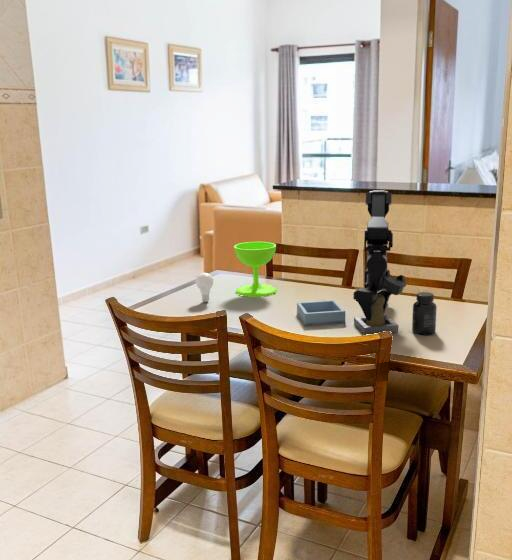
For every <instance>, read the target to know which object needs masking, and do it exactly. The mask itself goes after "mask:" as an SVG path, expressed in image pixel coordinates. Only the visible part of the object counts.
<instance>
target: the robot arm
mask: <svg viewBox="0 0 512 560" xmlns="http://www.w3.org/2000/svg"><path fill="white" fill-rule="evenodd" d="M365 206H367V213H368V214H369V216H370V217H371V219H370V220H368V221H367V224H366V225H367V227H366V229H364V243H363V251H367V258H366V259H367V260H366V270H364V285H363V286H364V287H360V288H358V289H357V290H354V292H353V295H352V296H353V300H355V302H356V303H358V305H359V307H360V308H361V310H362V312H363V315H364V317H366V319H367V320H368V321H370V320H371V317H372V310H373V304H374V303H376V302H377V301H378V300H376V299H377V297H378V294H381V295H383V296H384V298H385V303H384V305H383V310H384V313H385V312H386V309H387V306H389V300H390V297H391V296H392V295H394V296H398V295H399V294H402V292H403V290H404V288H405V287H406V286H407V282H406V276H405V275H402V274H399V275H398V276H397V277H396V276H394V275H393V276H392V275H391V271H390V269H388V252H390V251H392V250H391V248H393V247H394V245H393V244H394V243H393V242H394V241H393V240H394V239H393V238H394V236H393V232H392V229H389V222H388V221H387V220H386V219H385V218H386V216H387V215H388V213H389V211H390V206H392V192H389V191H388V190H384V189H382V190H381V189H380V190H379V189H377V190H375V189H374V190H371V191H369V192H365Z"/></svg>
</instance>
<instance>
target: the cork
mask: <svg viewBox="0 0 512 560" xmlns="http://www.w3.org/2000/svg"><path fill="white" fill-rule="evenodd" d="M376 300H378V301H377V302H376V303H374V304H373V310H372V317H371V320H370V321H368V320H367V324H366V325H367V326H374V325H385V319H384V315H385V312H384V310H383V305H384V303H385V298H384V296H383V295H381V294H378V297H377V299H376Z"/></svg>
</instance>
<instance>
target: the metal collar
mask: <svg viewBox="0 0 512 560" xmlns="http://www.w3.org/2000/svg"><path fill="white" fill-rule="evenodd" d="M384 319H385V325H374V326H367V325H366V324H367V319H366V317H365V316H355V317H353V325H354V326H355V328H356V329H357V330H358V331H359V332H360V333H361V334H362V335H363V336H364V335H366V334H374V333H379V332H383V331H391V332H392V334H391V335H393V334H399V324H398V323H396V321H394V320H393V319H392V318H391V317H390V316H388V315H387V314H384Z"/></svg>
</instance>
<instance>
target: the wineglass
mask: <svg viewBox="0 0 512 560" xmlns="http://www.w3.org/2000/svg"><path fill="white" fill-rule="evenodd" d="M233 249H234V250H233V251H234V254H235V255H236V257H237V259H238V260H239V261H240V262H241V263H242V264H244V265H245V266H249V267H251V268H252V272H253V282H252V284H247V285H246V284H245V285H243V286H242V285H241V286H240V287H238V288H237V289H236V290H235V294H236V293H237V294H239V295H243V296H249V297H248V298H262V297H261V296H266V297H269V296H268V295H271V296H273V295H272V294H274V293H275V294H277V293H278V290H277V289H276V287H274V285H271V284H270V285H269V284H261V283H260V282H259V267H262V266H265V265H267V264H268V263H269V262H271V260H272V259H273V257H274V255H275V253H276V250H277V244H276V243H273V242H269V241H246V242H241V243H236V244H235V245H234V246H233ZM276 292H277V293H276ZM237 294H236V295H237ZM275 294H274V295H275ZM239 295H238V296H239ZM243 296H242V297H243Z"/></svg>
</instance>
